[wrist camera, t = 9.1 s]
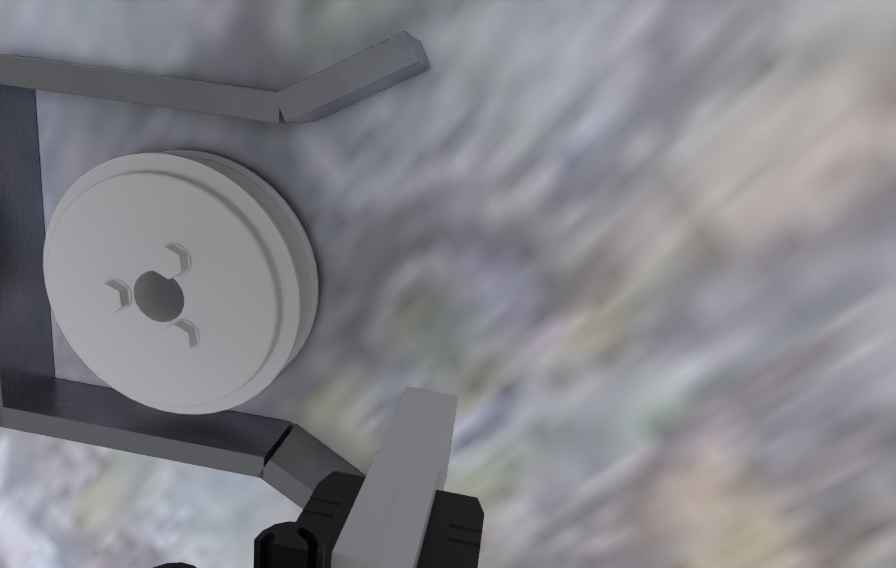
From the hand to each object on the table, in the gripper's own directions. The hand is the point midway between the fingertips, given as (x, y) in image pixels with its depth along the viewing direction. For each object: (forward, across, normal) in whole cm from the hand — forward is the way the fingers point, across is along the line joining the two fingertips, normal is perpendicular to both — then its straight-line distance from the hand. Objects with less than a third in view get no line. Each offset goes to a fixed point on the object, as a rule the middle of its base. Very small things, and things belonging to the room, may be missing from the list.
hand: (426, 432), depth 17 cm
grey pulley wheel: (+13, -14, -1) cm, 19 cm away
